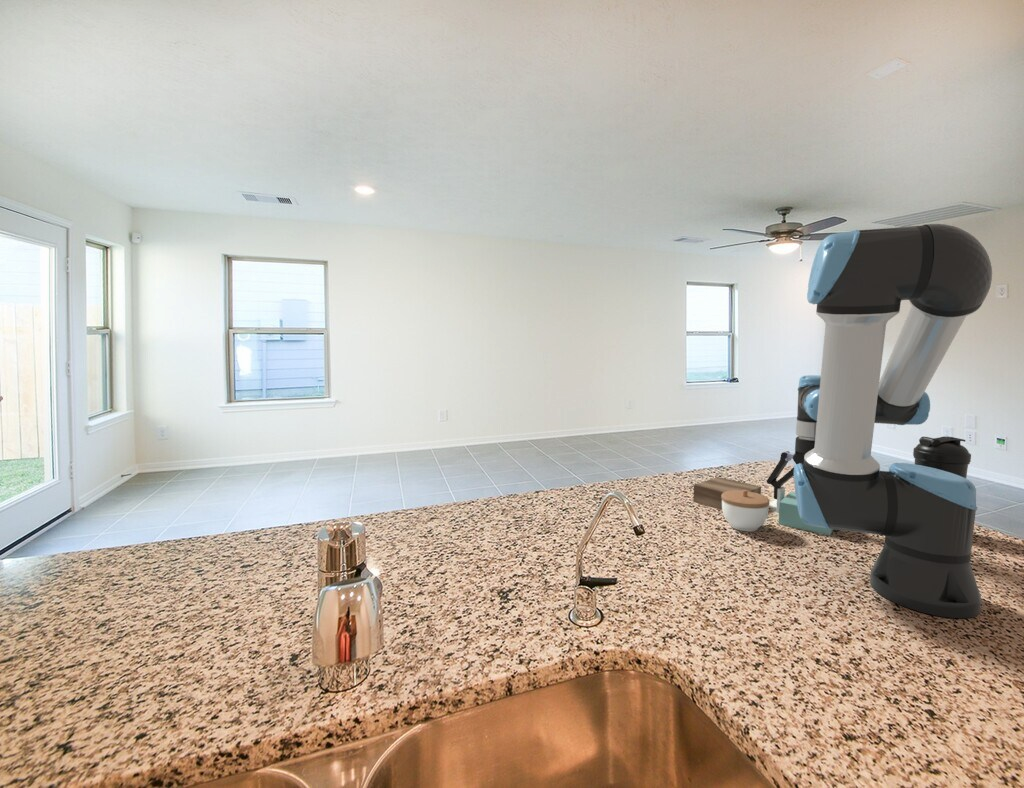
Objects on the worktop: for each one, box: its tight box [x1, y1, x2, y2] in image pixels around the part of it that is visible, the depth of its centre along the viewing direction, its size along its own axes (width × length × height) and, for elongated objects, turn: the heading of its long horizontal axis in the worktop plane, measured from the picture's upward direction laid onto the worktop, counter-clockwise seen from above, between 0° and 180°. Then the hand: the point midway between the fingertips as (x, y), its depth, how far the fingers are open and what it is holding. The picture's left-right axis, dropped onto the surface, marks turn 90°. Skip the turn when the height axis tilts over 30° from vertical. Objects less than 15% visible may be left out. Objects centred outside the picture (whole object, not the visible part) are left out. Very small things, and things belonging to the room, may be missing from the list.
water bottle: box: [912, 436, 972, 479], centre depth 114 cm, size 10×10×23 cm
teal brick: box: [778, 491, 835, 536], centre depth 120 cm, size 11×11×6 cm
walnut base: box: [692, 476, 762, 510], centre depth 136 cm, size 13×13×5 cm
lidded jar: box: [721, 490, 770, 532], centre depth 118 cm, size 11×11×9 cm
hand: (808, 519), depth 121 cm, fingers open, 13 cm apart
